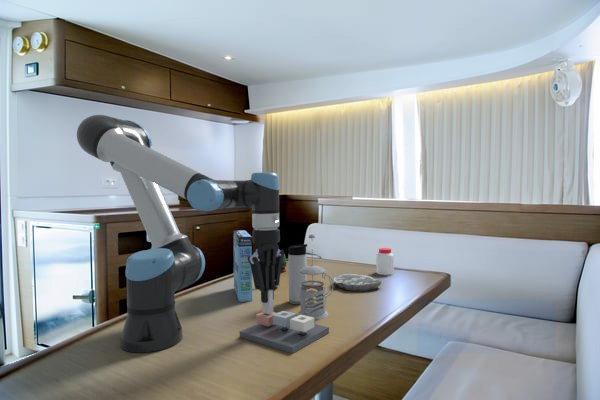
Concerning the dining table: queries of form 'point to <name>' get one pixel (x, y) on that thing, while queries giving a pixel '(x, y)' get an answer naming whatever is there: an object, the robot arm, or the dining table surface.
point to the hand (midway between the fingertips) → (267, 312)
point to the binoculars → (283, 263)
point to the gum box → (242, 265)
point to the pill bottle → (385, 262)
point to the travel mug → (296, 271)
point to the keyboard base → (283, 336)
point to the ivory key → (302, 323)
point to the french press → (313, 292)
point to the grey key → (283, 319)
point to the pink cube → (265, 319)
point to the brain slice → (356, 282)
